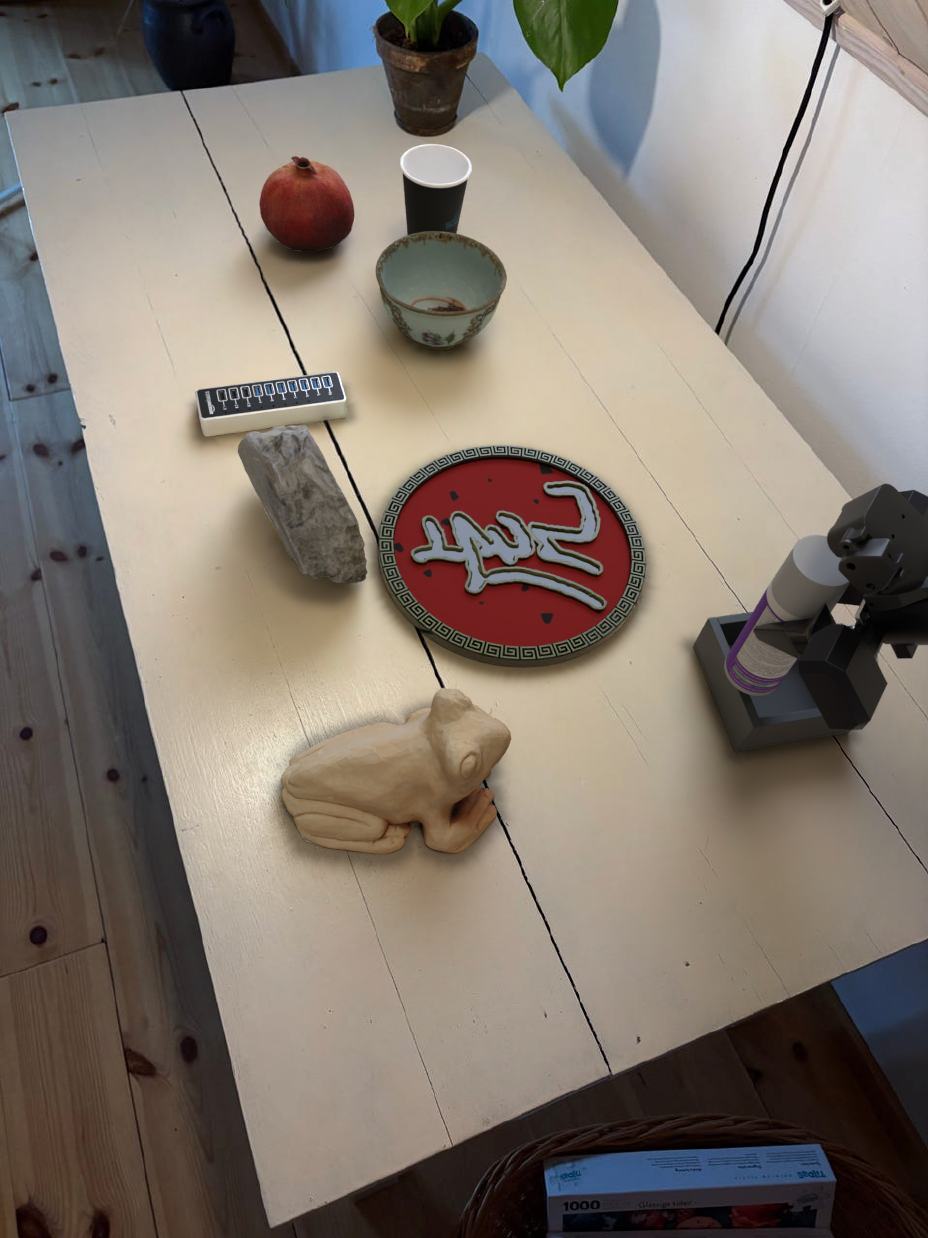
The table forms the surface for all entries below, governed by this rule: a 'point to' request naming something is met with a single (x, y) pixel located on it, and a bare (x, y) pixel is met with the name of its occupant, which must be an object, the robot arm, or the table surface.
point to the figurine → (400, 780)
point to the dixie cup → (434, 187)
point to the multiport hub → (271, 403)
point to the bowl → (440, 287)
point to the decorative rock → (305, 503)
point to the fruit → (306, 206)
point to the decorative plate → (511, 556)
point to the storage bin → (751, 716)
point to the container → (785, 614)
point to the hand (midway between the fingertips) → (768, 610)
